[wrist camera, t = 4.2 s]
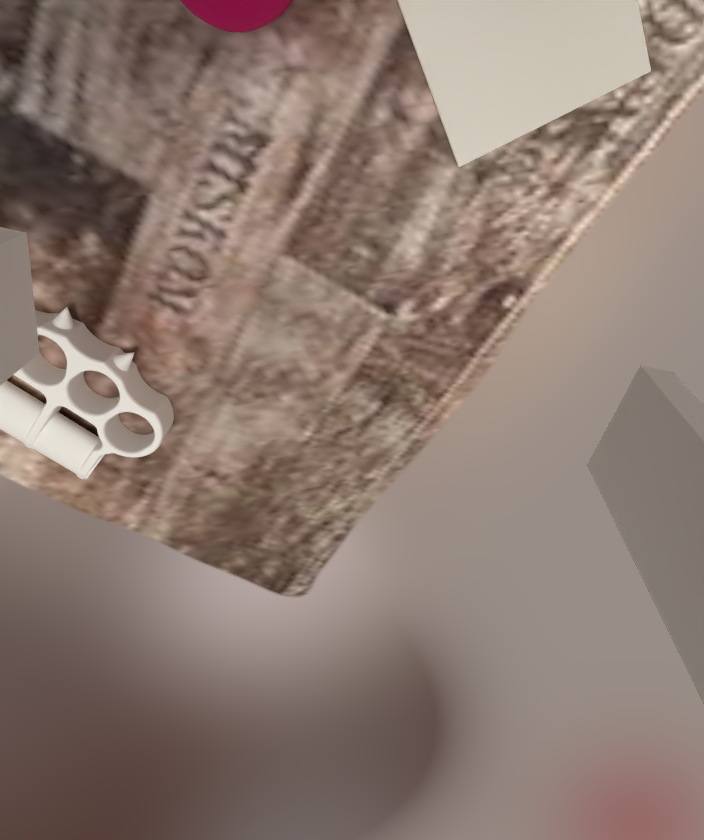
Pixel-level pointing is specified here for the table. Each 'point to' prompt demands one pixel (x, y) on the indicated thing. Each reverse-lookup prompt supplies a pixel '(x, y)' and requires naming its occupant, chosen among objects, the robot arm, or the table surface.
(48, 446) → the knuckle duster
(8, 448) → the table surface
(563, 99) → the cutting board
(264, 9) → the pepper mill
